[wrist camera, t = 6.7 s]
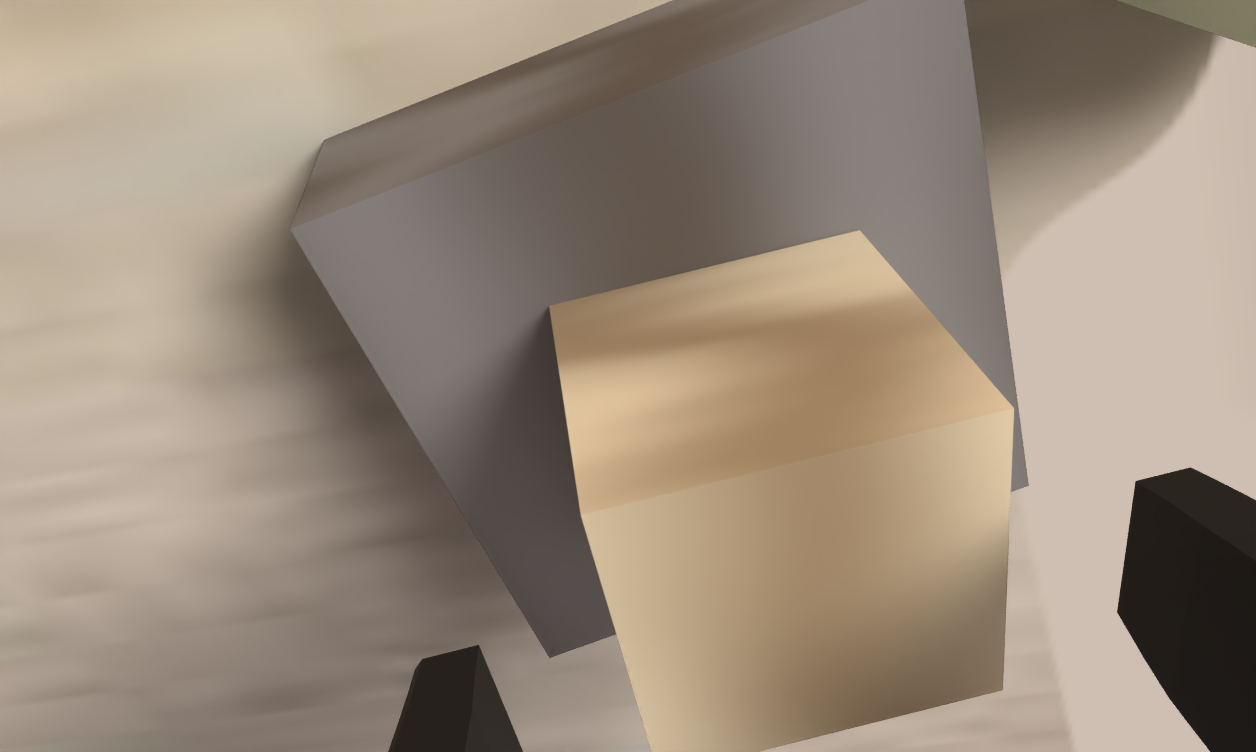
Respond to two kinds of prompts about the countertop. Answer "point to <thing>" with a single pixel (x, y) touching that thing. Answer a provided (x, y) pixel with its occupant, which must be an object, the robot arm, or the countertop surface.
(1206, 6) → the sage cube
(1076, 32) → the countertop surface
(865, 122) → the charcoal slab
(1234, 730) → the robot arm
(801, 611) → the birch cube
